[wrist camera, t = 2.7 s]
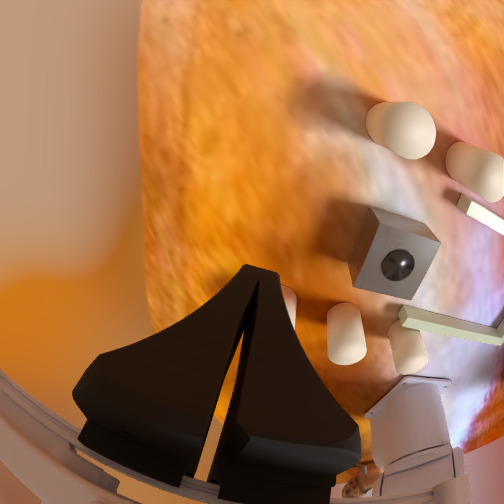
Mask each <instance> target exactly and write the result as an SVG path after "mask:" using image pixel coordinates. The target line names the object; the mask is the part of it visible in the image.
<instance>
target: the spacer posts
mask: <svg viewBox="0 0 504 504" xmlns="http://www.w3.org/2000/svg"><path fill="white" fill-rule="evenodd" d="M365 123H366V129H367V132H368V134H369V136H370V137H371V138H372V140H373V141H375V142H376V143H377V144H379V145H381V146H383V147H385V148H387V149H388V150H390V151H392V152H394V153H396V154H397V155H399V156H401V157H403V158H406V159H419V158H421V157H423V156H425V155H426V154H428V153H429V152H430V150H431V149H432V147H433V145H434V142H435V138H436V129H435V124H434V121H433V119H432V117H431V116H430V114H429V113H428V112H427V111H426V110H425V109H424V108H423V107H422V106H420V105H418V104H416V103H413V102H381V103H378V104H376V105H374V106H373V107H371V108H370V110H369V111H368V113H367V116H366V121H365ZM445 165H446V169H447V172H448V174H449V175H450V177H451V178H452V179H454V180H455V181H457V182H458V183H460V184H461V185H463V186H465V187H466V188H468V189H469V190H471V191H472V192H474V193H475V194H476V195H478V196H479V197H481V198H482V199H484V200H485V201H487V202H490V203H493V202H497V201H498V200H500V199H501V198H502V197H503V196H504V159H503V158H502V157H501V156H499V155H497V154H495V153H492V152H490V151H487V150H485V149H482V148H479V147H477V146H474V145H471V144H468V143H465V142H456V143H454V144H452V145H451V146H450V148H449V149H448V151H447V153H446V158H445ZM281 288H282V293H283V297H284V300H285V304H286V307H287V310H288V313H289V316H290V319H291V322H292V325H293V327H294V329H295V317H296V305H297V297H296V294H295V292H294V291H293V290H292V289H291V288H289V287H287V286H284V285H281ZM388 336H389V340H390V344H391V349H392V353H393V357H394V362H395V367H396V371H397V372H398V373H399V374H403V375H407V374H412V373H415V372H417V371H419V370H420V369H422V368H423V367H424V366H425V365H426V364H427V362H428V355H427V352H426V349H425V346H424V343H423V340H422V337H421V334H420V331H419V330H416V329H412V328H407V327H403V326H401V323H400V319H399V320H397V321H395V322H394V323H393V324H392V325H391V326H390V327H389V329H388ZM327 340H328V358H329V359H330V361H332V362H333V363H335V364H339V365H349V364H353V363H356V362H358V361H360V360H361V359H362V358H363V357H364V356H365V354H366V351H367V350H366V343H365V337H364V331H363V325H362V319H361V314H360V310H359V308H358V307H357V306H356V305H354V304H352V303H347V302H346V303H339V304H336V305H334V306H333V307H331V308H330V309H329V311H328V313H327Z"/></svg>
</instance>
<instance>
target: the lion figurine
mask: <svg viewBox="0 0 504 504" xmlns="http://www.w3.org/2000/svg"><path fill="white" fill-rule="evenodd" d="M356 466H358V467H359V469H358V473H357V477H354V478H351V479H350V480H349V481H348V483H347V484H346V485H345V486H344V488H343V490H342V497H343V498H359V497H360V496H362V495H364V494H366V493H367V492H368V491H369V490H371V489H372V488H373V485H374V483H375V481H376V479H377V478H378V476H379V475H380V474H381V473H373V474H369V475H367V472H366V470H367V467H366V466H362V464H360V463H359V464H356Z"/></svg>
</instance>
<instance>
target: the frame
mask: <svg viewBox="0 0 504 504" xmlns="http://www.w3.org/2000/svg"><path fill="white" fill-rule="evenodd" d="M457 207H458V208H459V209H461V210H462V211H463V212H464V213H465V214H467V215H468V216H470V217H472V218H474V219H476V220H478V221H479V222H481V223H483V224H485V225H487V226H488V227H490V228H492V229H493V230H495V231H497V232H498V233H500V234H502V235H503V236H504V219H503V218H502V217H500V216H499V215H497V214H495V213H494V212H492V211H491V210H489V209H488V208H486V207H484V206H483V205H481V204H479V203H478V202H476V201H474V200H472V199H471V198H469V197H467V196H465V195H464V194H461V196H460V199H459V201H458V203H457ZM398 316H399V319H400V323H401V326H403V327H407V328H412V329H416V330H421V331H426V332H431V333H435V334H440V335H445V336H450V337H455V338H460V339H466V340H471V341H476V342H482V343H488V344H493V345H499V346H501V345H502V343H503V342H504V319H503V321H502V322H501V323H500V325H499V326H498V327H497V329H496V328H492V327H488V326H484V325H480V324H476V323H472V322H468V321H464V320H460V319H456V318H452V317H448V316H444V315H441V314H437V313H433V312H429V311H425V310H421V309H417V308H413V307H410V306H406V305H403V307H402V308H401V310H400V311H399V313H398Z"/></svg>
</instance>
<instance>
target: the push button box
mask: <svg viewBox="0 0 504 504" xmlns="http://www.w3.org/2000/svg"><path fill="white" fill-rule="evenodd" d="M440 245H441V242H440V241H439V240H438V238H437V237H436V236H435V235H434V234H433V232H432V231H431V230H430V229H429V228H428V226H427V225H426V224H424V223H421V222H418V221H416V220H413V219H410V218H407V217H404V216H401V215H398V214H395V213H392V212H389V211H386V210H383V209H379V208H376V207H373V206H369V209H368V212H367V215H366V218H365V220H364V223H363V226H362V229H361V231H360V234H359V237H358V239H357V242H356V245H355V247H354V250H353V252H352V255H351V257H350V260H349V262H348V265H349V270H350V275H351V279H352V284H353V287H355V288H359V289H364V290H368V291H372V292H377V293H381V294H385V295H390V296H394V297H398V298H403V299H407V300H412V298H413V296H414V294H415V293H416V291H417V289H418V287H419V286H420V284H421V282H422V280H423V278H424V276H425V275H426V273H427V271H428V269H429V267H430V265H431V263H432V261H433V259H434V257H435V255H436V253H437V251H438V249H439V247H440Z"/></svg>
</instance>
